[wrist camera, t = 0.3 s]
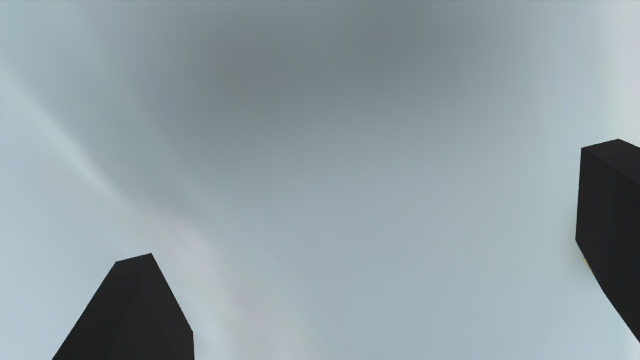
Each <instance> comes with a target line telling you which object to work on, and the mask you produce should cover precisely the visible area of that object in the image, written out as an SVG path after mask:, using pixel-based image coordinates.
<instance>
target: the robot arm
mask: <svg viewBox="0 0 640 360" xmlns="http://www.w3.org/2000/svg"><path fill="white" fill-rule="evenodd" d="M575 240H576V242H577V244H578V246H579V248H580V250H581V252H582V254H583V256H584V257H585V259H586V261H587V263H588V265H589V267H590V269H591V271H592V273H593V274H594V276H595V278H596V280H597V281H598V283H599V285H600V287H601V289H602V290H603V292H604V293H605V295H606V296H607V298H608V299H609V301H610V302H611V304H612V305H613V306H614V308H615V309H616V311H617V312H618V313H619V315H620V316H621V317H622V319H623V320H624V322H625V323H626V324H627V326H628V327H629V329H630V330H631V331H632V333H633V334H634V336H635V337H636V338H637V340H638V341H639V342H640V148H639V147H637V146H635V145H632V144H630V143H628V142H625V141H623V140H620V139H615V140H611V141H607V142H603V143H599V144H595V145H591V146H587V147H583V148H581V161H580V176H579V191H578V207H577V222H576V238H575ZM52 360H195V359H194V341H193V331H192V329H191V327H190V325H189V324H188V322H187V320H186V318H185V316H184V314H183V312H182V310H181V308H180V306H179V304H178V303H177V301H176V299H175V297H174V295H173V293H172V291H171V289H170V287H169V285H168V283H167V282H166V280H165V278H164V276H163V274H162V272H161V270H160V268H159V266H158V264H157V263H156V261H155V259H154V257H153V255H152V253H150V254H146V255H141V256H137V257H133V258H129V259H125V260H121V261H117V262H116V263H115V264H114V265H113V267H112V268H111V270H110V271H109V273H108V274H107V276H106V277H105V279H104V280H103V282H102V283H101V285H100V287H99V288H98V290H97V291H96V293H95V294H94V296H93V298H92V299H91V301H90V302H89V304H88V305H87V307H86V309H85V310H84V312H83V313H82V315H81V316H80V318H79V319H78V321H77V323H76V324H75V326H74V327H73V329H72V330H71V332H70V333H69V335H68V336H67V338H66V339H65V341H64V342H63V344H62V345H61V347H60V348H59V350H58V351H57V353H56V354H55V356H54V357H53V359H52Z"/></svg>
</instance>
